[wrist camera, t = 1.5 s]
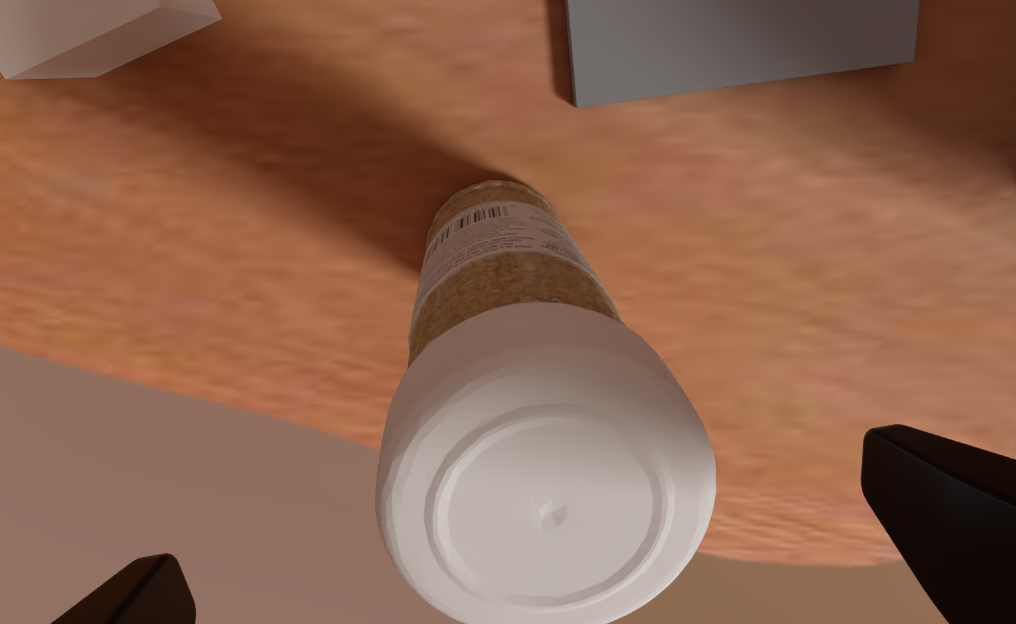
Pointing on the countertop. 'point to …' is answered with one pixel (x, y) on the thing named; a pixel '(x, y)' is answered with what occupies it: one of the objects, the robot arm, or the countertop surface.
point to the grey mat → (726, 43)
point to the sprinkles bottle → (534, 431)
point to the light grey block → (91, 33)
